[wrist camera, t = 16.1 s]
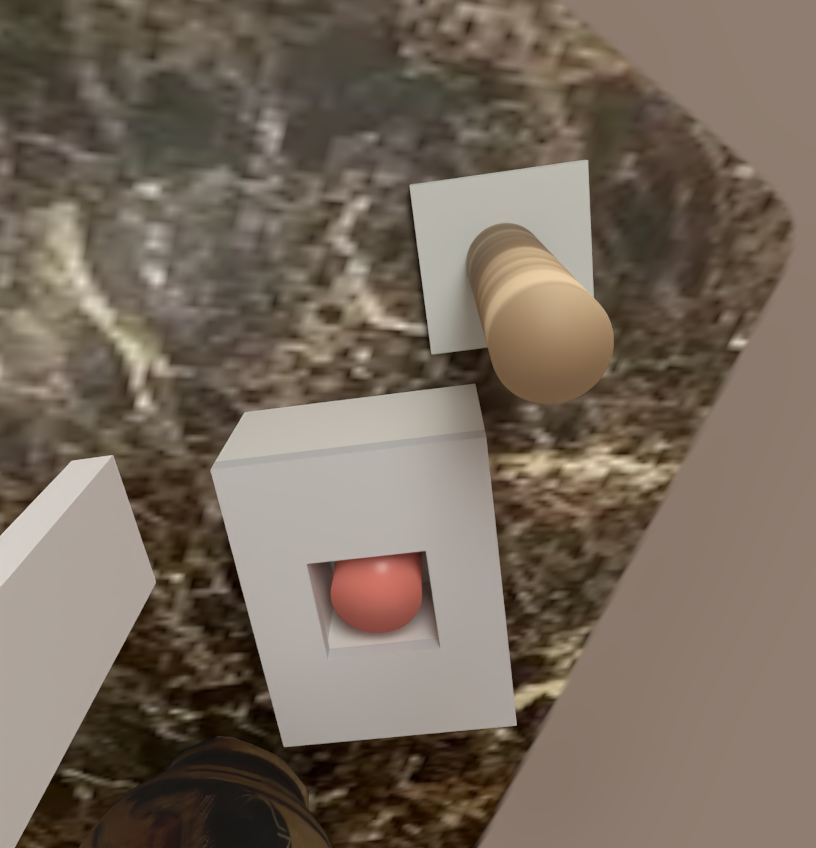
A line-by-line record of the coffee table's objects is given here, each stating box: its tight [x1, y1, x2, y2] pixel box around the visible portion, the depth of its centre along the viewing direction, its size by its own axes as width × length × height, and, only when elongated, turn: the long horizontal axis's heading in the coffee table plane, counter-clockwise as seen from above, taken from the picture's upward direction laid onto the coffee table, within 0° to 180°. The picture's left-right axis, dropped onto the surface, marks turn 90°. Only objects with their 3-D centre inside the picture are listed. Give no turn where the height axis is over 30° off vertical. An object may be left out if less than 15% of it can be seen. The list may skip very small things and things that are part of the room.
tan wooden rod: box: [466, 223, 614, 404], centre depth 28 cm, size 4×4×14 cm
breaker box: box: [211, 384, 517, 747], centre depth 38 cm, size 16×12×7 cm
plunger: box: [331, 551, 422, 633], centre depth 38 cm, size 4×4×5 cm
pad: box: [410, 160, 594, 355], centre depth 35 cm, size 8×8×1 cm
